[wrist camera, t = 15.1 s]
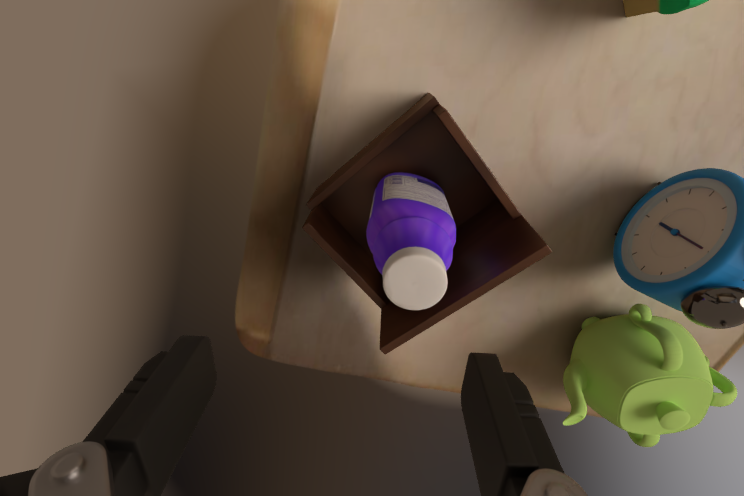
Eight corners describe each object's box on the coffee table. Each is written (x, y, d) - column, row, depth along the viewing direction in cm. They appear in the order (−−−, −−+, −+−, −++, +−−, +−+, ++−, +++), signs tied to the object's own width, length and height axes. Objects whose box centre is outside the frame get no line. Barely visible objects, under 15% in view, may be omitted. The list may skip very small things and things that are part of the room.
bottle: (366, 213, 40) (350, 308, 24) (380, 162, 38) (371, 230, 22) (432, 230, 41) (457, 334, 25) (449, 180, 38) (489, 260, 22)
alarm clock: (673, 152, 40) (818, 198, 26) (719, 177, 41) (881, 234, 27) (591, 252, 45) (675, 332, 32) (632, 272, 46) (732, 358, 33)
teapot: (583, 401, 56) (633, 488, 44) (525, 347, 52) (563, 427, 40) (692, 342, 50) (780, 424, 39) (636, 276, 46) (715, 345, 35)
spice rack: (315, 189, 43) (277, 250, 29) (428, 92, 38) (450, 108, 24) (387, 266, 47) (385, 355, 33) (498, 188, 42) (553, 252, 28)
